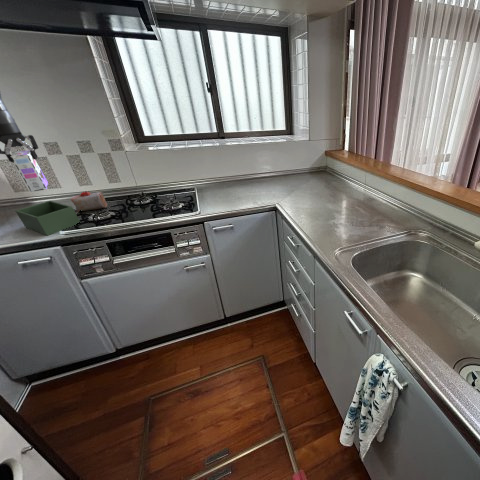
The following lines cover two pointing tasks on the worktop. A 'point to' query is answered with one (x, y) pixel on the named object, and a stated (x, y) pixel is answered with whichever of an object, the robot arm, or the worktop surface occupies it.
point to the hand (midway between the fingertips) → (25, 160)
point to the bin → (48, 217)
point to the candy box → (29, 170)
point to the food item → (89, 201)
